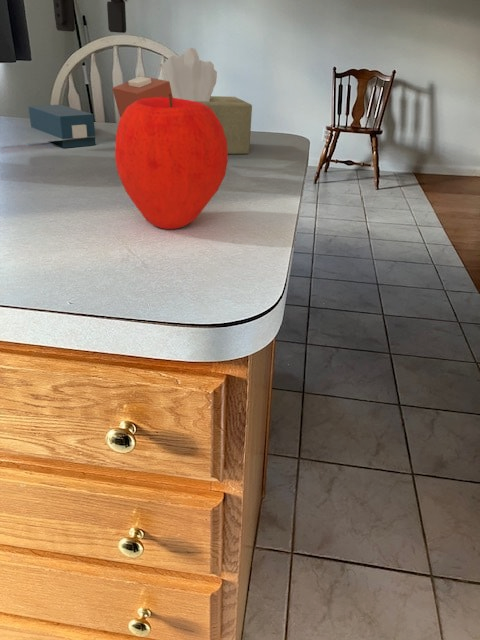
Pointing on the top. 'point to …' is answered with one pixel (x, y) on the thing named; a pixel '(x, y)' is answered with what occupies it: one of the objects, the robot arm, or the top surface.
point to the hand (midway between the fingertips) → (92, 31)
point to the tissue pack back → (64, 124)
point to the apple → (170, 158)
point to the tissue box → (210, 97)
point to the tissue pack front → (139, 91)
